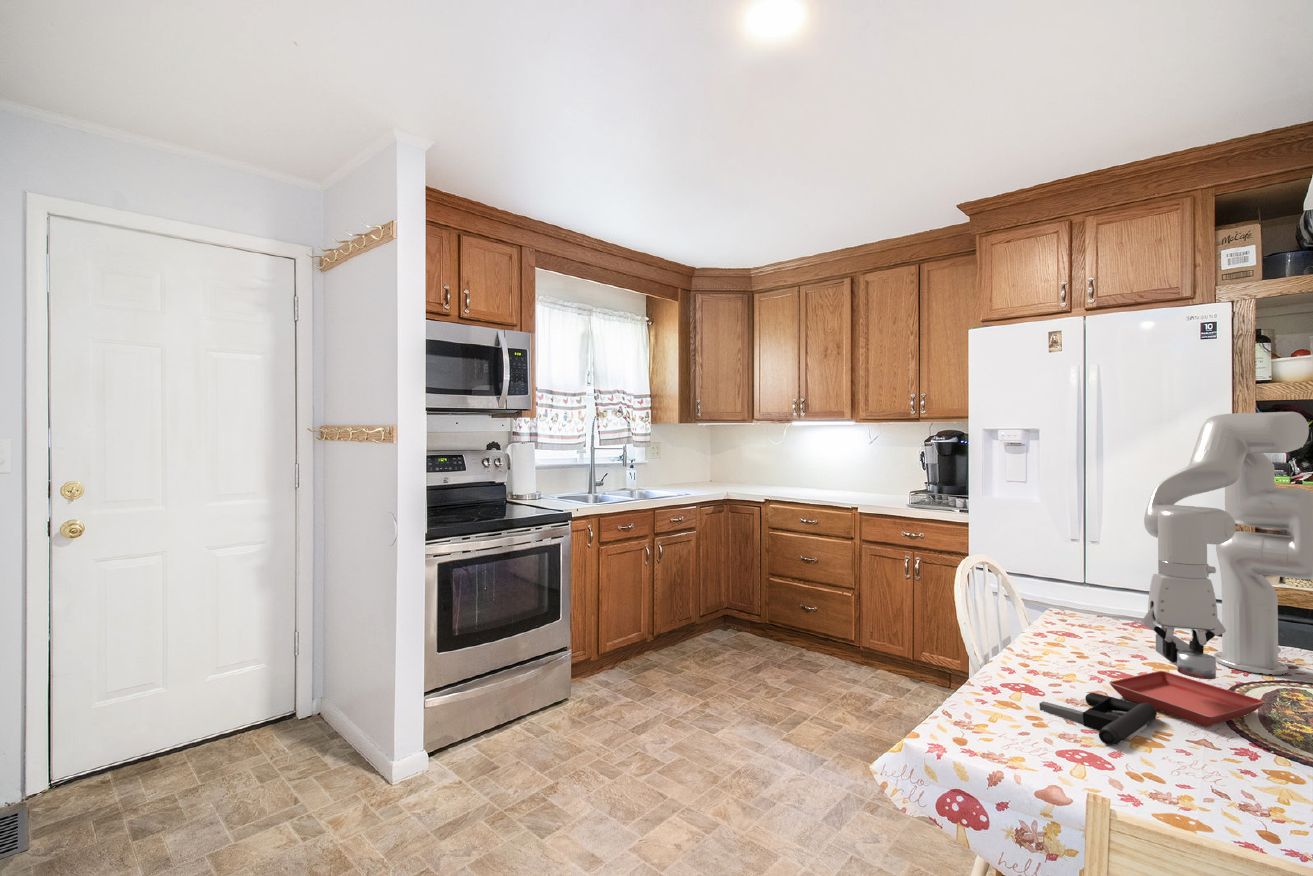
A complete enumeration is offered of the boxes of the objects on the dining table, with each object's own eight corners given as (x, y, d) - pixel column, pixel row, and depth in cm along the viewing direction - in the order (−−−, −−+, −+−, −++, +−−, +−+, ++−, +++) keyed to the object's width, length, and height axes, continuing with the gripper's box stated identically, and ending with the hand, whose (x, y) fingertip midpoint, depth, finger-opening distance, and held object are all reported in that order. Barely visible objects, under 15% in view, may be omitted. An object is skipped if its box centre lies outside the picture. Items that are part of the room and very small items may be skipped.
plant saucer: (1107, 696, 128) (1106, 680, 128) (1161, 684, 134) (1161, 669, 134) (1211, 735, 111) (1210, 717, 111) (1267, 718, 117) (1267, 701, 117)
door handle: (1024, 706, 117) (1123, 734, 104) (1070, 683, 129) (1165, 705, 115) (1026, 724, 117) (1125, 754, 104) (1071, 699, 128) (1167, 723, 115)
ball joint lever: (1149, 650, 131) (1149, 633, 131) (1181, 653, 129) (1181, 636, 129) (1185, 677, 115) (1185, 658, 116) (1222, 681, 114) (1222, 661, 114)
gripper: (1223, 570, 123) (1224, 660, 123) (1125, 564, 129) (1126, 650, 129) (1244, 577, 116) (1245, 673, 116) (1140, 571, 122) (1140, 662, 122)
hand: (1182, 660), depth 122 cm, fingers closed on ball joint lever, 3 cm apart
